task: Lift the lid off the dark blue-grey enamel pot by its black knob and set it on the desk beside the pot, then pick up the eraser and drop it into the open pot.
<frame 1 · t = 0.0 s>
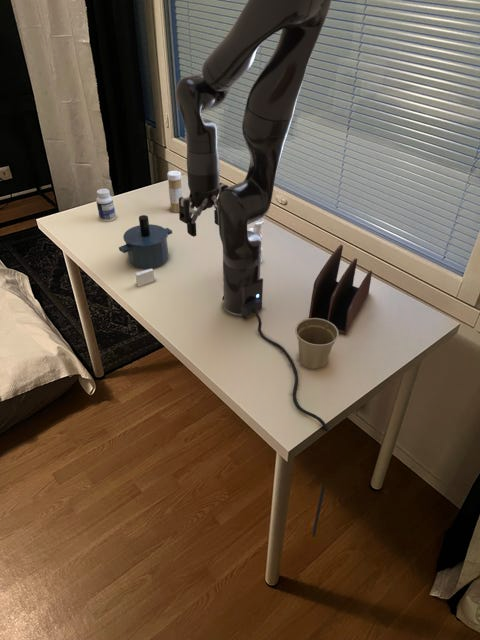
hand: (205, 229, 126), 17 cm above the table, tool pointing down, fingers open, 8 cm apart
sprinkles bottle: (177, 210, 173), on the table
pill bottle: (107, 218, 168), on the table
pot: (148, 258, 148), on the table
letter holder: (339, 309, 129), on the table
koala figurine: (253, 261, 147), on the table
flower pot: (313, 360, 114), on the table
lid: (145, 236, 143), point 7 cm above the table, touching pot
eraser: (145, 283, 138), on the table
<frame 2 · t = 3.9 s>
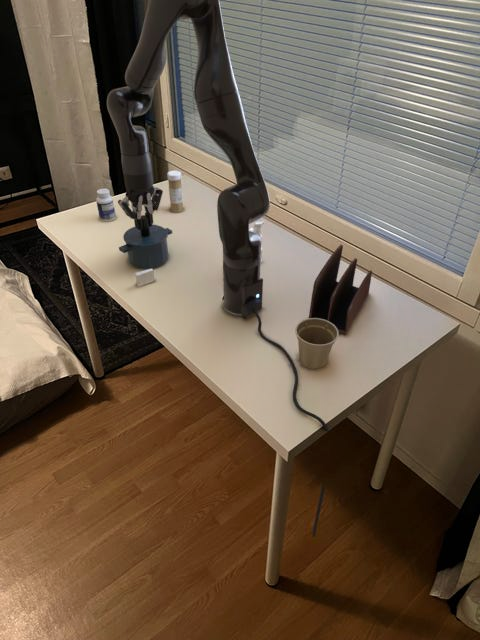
hand: (144, 227, 141), 10 cm above the table, tool pointing down, fingers closed on lid, 2 cm apart
lid: (145, 236, 143), point 7 cm above the table, touching gripper, pot
everything else where it was.
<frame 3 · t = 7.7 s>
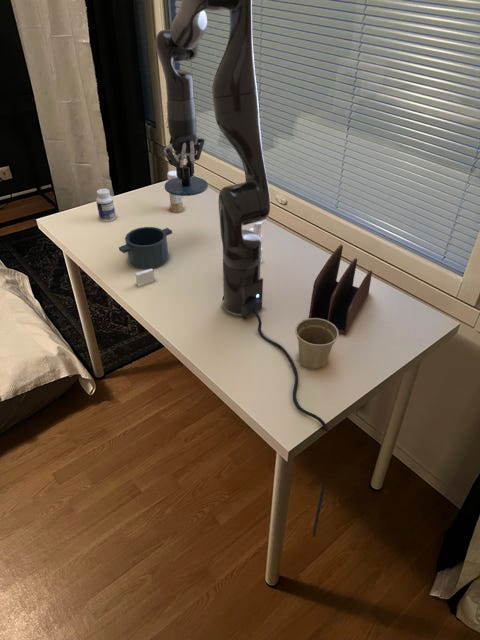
hand: (185, 177, 143), 21 cm above the table, tool pointing down, fingers closed on lid, 2 cm apart
lid: (186, 186, 145), point 18 cm above the table, touching gripper
everything else where it was.
when the fingers open (4 cm above the table, at t = 11.6 s): lid stays where it is, point 1 cm above the table.
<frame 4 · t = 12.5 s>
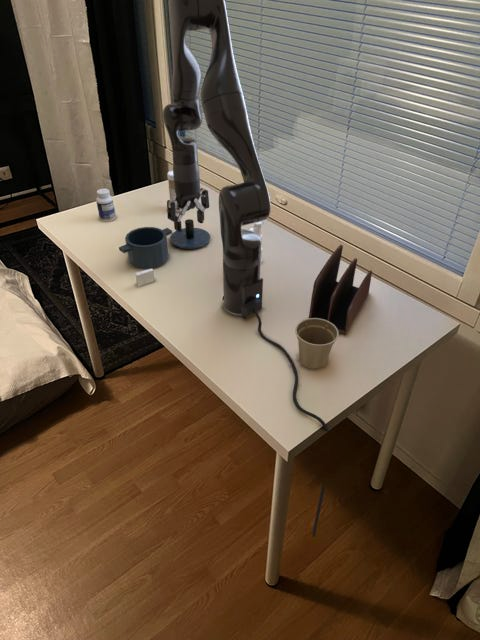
hand: (189, 226, 153), 5 cm above the table, tool pointing down, fingers open, 8 cm apart
lid: (190, 238, 156), point 1 cm above the table
everything else where it was.
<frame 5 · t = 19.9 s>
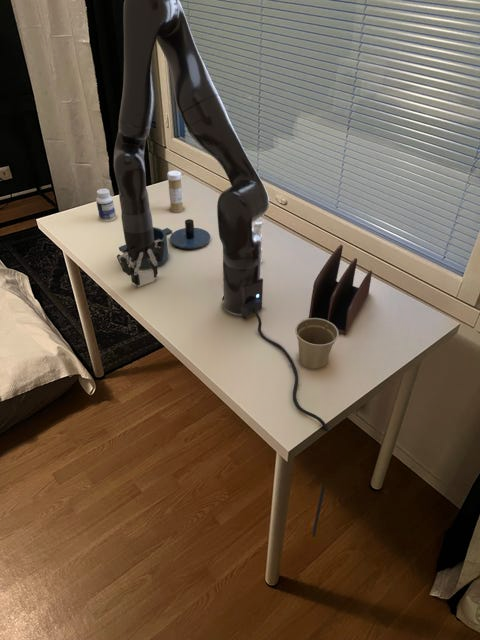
hand: (145, 280, 137), 1 cm above the table, tool pointing down, fingers closed on eraser, 5 cm apart
eraser: (145, 283, 138), on the table, touching gripper
everything else where it was.
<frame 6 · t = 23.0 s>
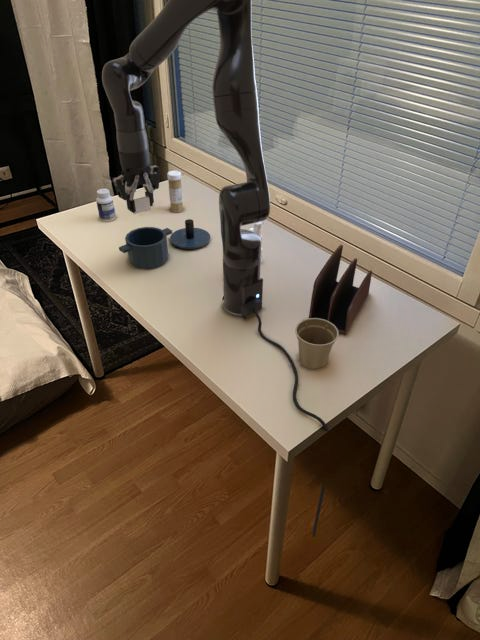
hand: (141, 208, 135), 17 cm above the table, tool pointing down, fingers closed on eraser, 5 cm apart
eraser: (141, 211, 136), point 16 cm above the table, touching gripper
everything else where it was.
when the fingers open (6 cm above the table, at t = 26.4 s): eraser drops 4 cm, resting on pot.
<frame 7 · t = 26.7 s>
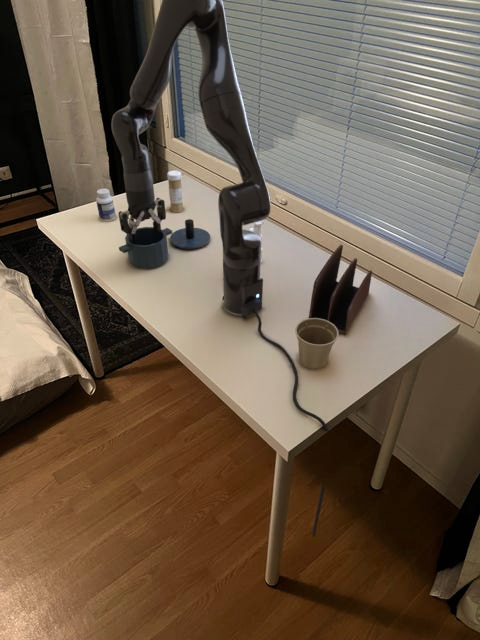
hand: (146, 238, 143), 7 cm above the table, tool pointing down, fingers open, 7 cm apart
eraser: (149, 257, 148), resting on pot
everything else where it was.
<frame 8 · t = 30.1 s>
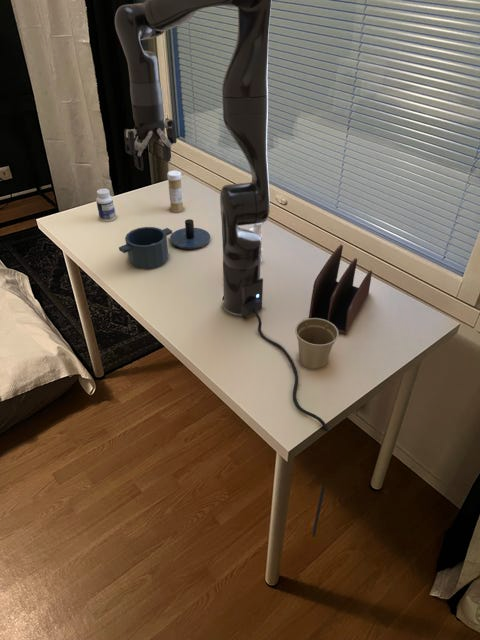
hand: (153, 164, 131), 28 cm above the table, tool pointing down, fingers open, 8 cm apart
nothing on the table moved.
at the end: lid inside the target area (0.1 cm from its centre), point 0.6 cm above the table; eraser inside the target area in the pot (0.2 cm from its centre), point 0.3 cm above the pot's base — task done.
